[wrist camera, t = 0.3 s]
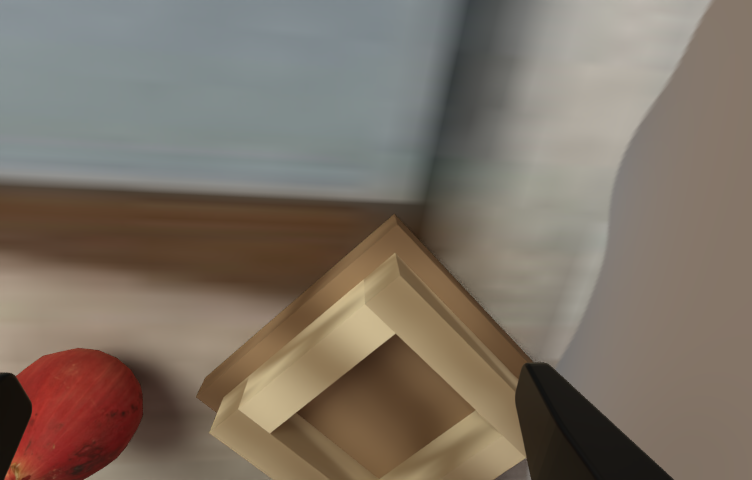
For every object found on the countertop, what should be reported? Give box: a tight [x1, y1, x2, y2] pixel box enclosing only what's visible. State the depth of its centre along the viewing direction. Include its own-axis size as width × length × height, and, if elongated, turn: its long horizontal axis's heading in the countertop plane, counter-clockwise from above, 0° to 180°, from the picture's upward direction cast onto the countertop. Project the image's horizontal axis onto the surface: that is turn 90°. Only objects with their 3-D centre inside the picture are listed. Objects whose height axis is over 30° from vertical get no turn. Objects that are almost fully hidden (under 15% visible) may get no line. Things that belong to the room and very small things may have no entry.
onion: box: [4, 348, 143, 480], centre depth 21 cm, size 6×6×8 cm
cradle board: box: [196, 214, 533, 480], centre depth 24 cm, size 14×14×4 cm
